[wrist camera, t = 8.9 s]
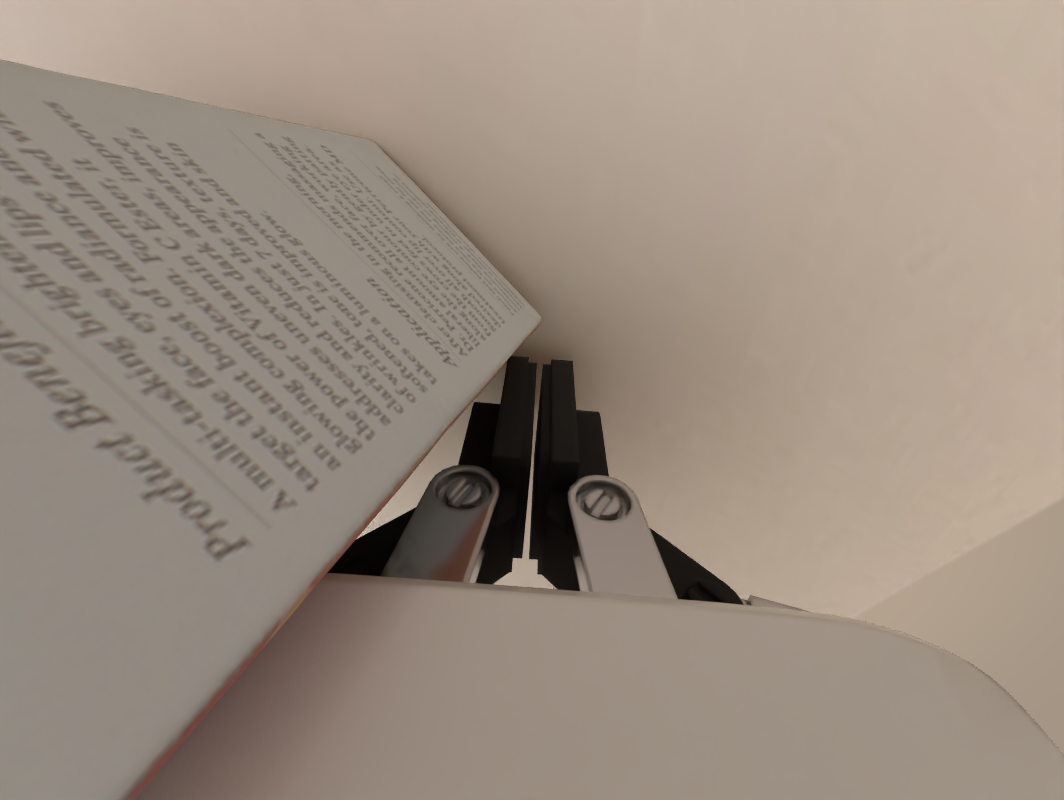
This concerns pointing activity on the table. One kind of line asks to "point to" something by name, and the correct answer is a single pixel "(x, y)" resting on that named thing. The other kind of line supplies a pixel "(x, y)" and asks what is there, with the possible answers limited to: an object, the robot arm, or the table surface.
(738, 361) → the table surface
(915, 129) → the table surface
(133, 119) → the small box
